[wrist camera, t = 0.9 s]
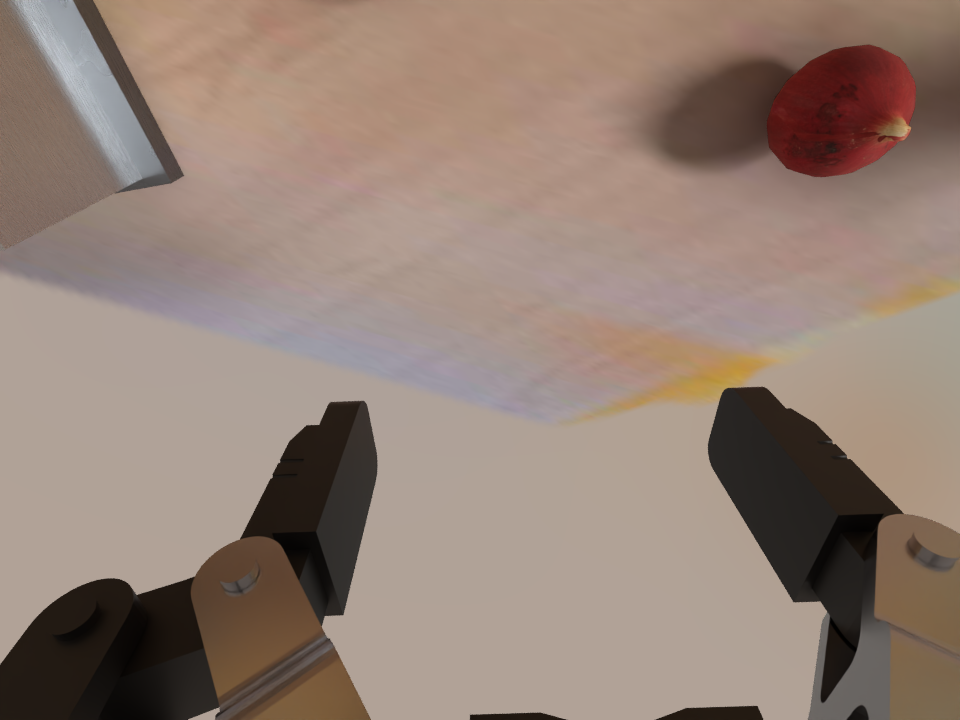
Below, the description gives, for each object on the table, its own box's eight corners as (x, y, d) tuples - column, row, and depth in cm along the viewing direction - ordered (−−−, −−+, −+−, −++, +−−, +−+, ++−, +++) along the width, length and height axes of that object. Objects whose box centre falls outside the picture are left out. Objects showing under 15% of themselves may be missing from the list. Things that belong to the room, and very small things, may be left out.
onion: (750, 174, 29) (828, 221, 23) (733, 78, 26) (819, 101, 20) (853, 126, 28) (969, 162, 21) (849, 18, 25) (983, 22, 18)
